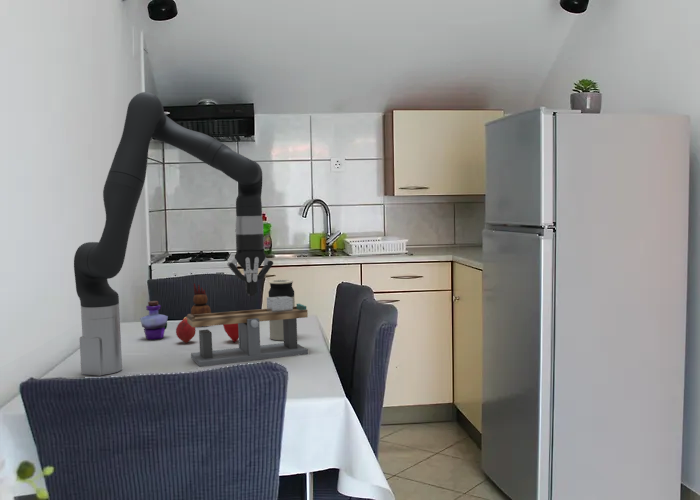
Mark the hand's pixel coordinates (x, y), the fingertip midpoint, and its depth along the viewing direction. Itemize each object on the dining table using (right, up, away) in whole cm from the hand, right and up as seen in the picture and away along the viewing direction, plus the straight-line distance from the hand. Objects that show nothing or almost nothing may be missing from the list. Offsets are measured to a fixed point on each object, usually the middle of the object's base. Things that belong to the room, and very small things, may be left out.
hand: (251, 295), depth 186 cm
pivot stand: (-1, -17, +1) cm, 17 cm away
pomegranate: (-23, -16, +21) cm, 35 cm away
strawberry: (-8, -16, +20) cm, 27 cm away
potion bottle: (-35, -16, +29) cm, 48 cm away
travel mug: (+6, -15, +24) cm, 29 cm away
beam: (-1, -7, +1) cm, 7 cm away
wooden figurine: (-25, -14, +49) cm, 57 cm away
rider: (+7, -5, +4) cm, 10 cm away
